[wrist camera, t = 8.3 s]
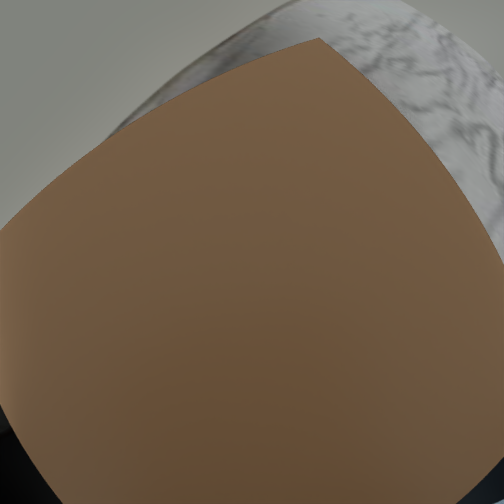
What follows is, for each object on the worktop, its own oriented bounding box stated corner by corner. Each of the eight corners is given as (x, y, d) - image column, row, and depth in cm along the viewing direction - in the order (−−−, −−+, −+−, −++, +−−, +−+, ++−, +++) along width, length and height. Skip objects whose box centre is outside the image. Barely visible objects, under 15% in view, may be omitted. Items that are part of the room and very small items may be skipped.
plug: (326, 337, 14) (547, 398, 2) (243, 390, 14) (192, 611, 1) (272, 256, 15) (318, 38, 3) (189, 309, 15) (-41, 278, 2)
